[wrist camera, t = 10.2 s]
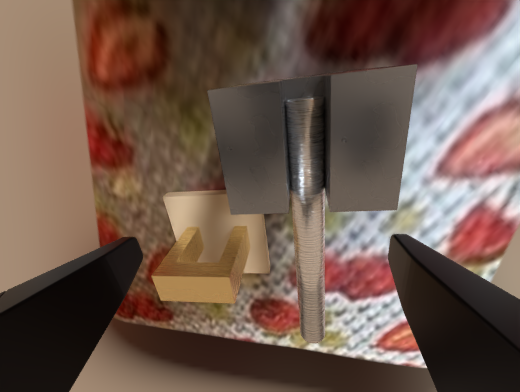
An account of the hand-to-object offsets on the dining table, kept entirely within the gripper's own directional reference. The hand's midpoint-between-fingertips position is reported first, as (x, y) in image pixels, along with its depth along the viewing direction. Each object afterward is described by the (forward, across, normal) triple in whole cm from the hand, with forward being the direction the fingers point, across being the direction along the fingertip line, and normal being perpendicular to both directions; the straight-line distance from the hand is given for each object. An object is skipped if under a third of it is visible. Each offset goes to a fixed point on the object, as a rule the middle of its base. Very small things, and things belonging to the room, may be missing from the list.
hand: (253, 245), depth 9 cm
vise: (+13, -2, +4) cm, 14 cm away
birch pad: (+13, +6, +8) cm, 16 cm away
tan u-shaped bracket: (+12, +6, +8) cm, 16 cm away
